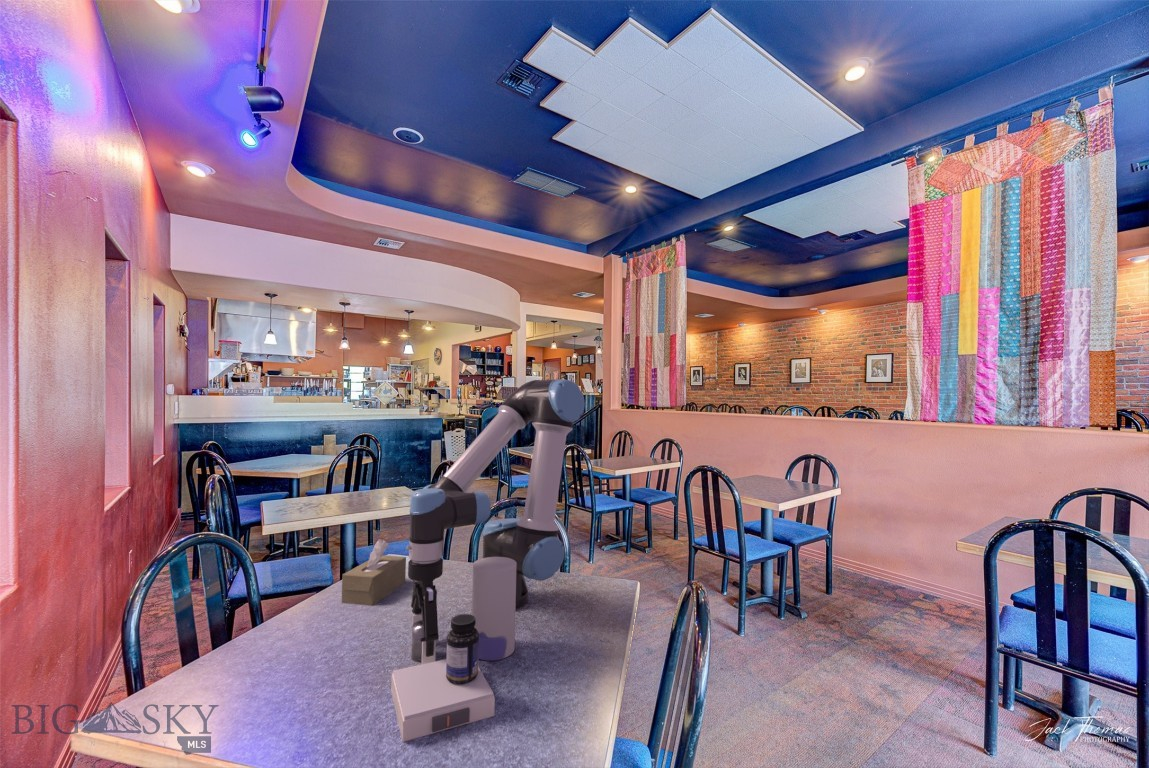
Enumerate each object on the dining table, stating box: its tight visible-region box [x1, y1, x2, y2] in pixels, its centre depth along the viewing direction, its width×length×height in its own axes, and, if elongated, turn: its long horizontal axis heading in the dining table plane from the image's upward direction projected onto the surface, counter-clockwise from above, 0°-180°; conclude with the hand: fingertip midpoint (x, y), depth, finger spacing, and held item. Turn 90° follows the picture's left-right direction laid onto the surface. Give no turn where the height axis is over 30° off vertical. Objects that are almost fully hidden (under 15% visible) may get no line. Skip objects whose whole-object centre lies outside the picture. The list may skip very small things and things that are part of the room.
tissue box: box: [341, 538, 407, 606], centre depth 146 cm, size 19×10×16 cm, turn 171°
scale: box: [390, 658, 496, 743], centre depth 93 cm, size 16×17×4 cm
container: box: [471, 557, 517, 662], centre depth 113 cm, size 10×10×20 cm
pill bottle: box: [446, 613, 479, 684], centre depth 95 cm, size 6×6×11 cm
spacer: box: [411, 620, 424, 663], centre depth 110 cm, size 5×5×7 cm
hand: (422, 655), depth 110 cm, fingers open, 12 cm apart
